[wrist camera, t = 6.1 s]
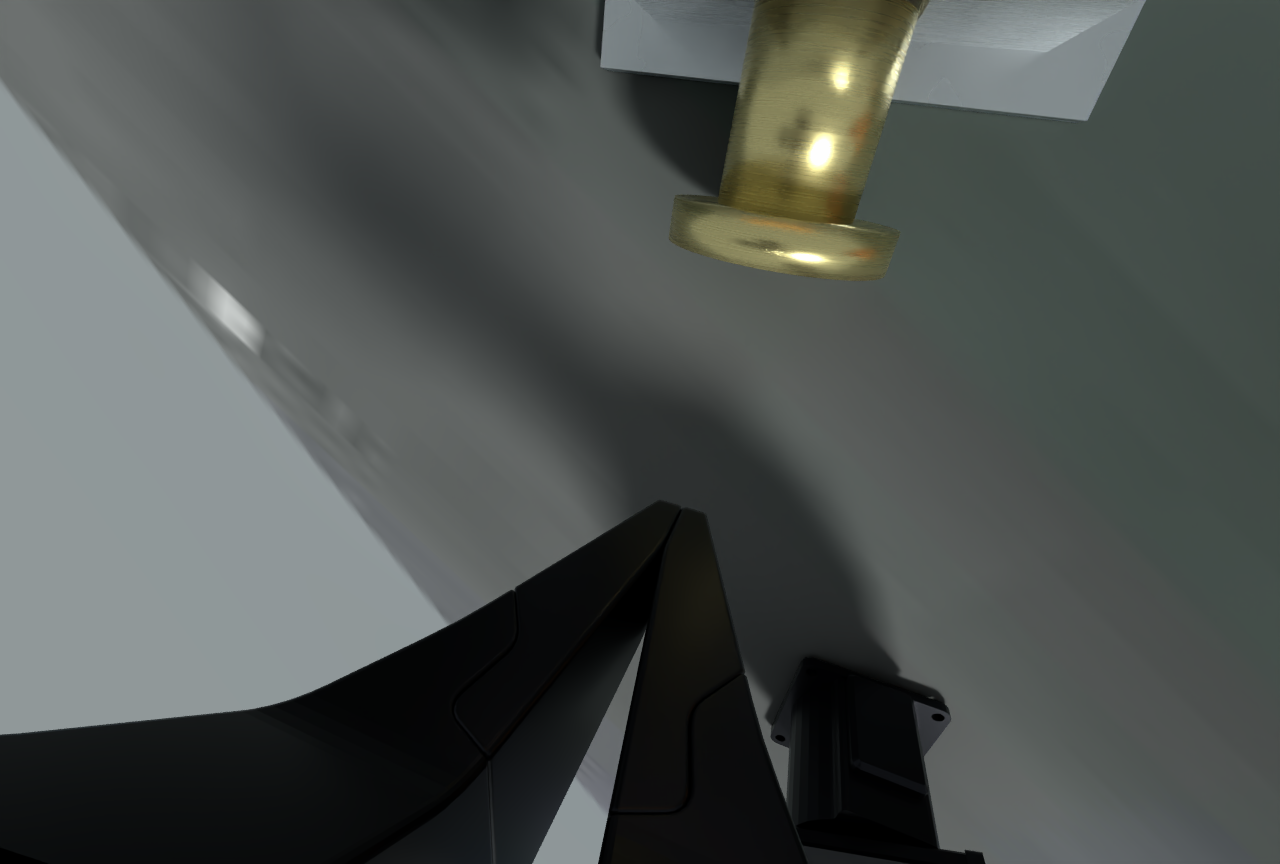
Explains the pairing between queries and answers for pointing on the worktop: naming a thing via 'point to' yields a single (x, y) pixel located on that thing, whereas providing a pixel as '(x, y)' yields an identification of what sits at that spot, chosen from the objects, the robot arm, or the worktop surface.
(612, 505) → the worktop surface
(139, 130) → the worktop surface
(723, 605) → the robot arm
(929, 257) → the worktop surface
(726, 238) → the pin
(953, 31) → the hitch block
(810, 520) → the worktop surface
